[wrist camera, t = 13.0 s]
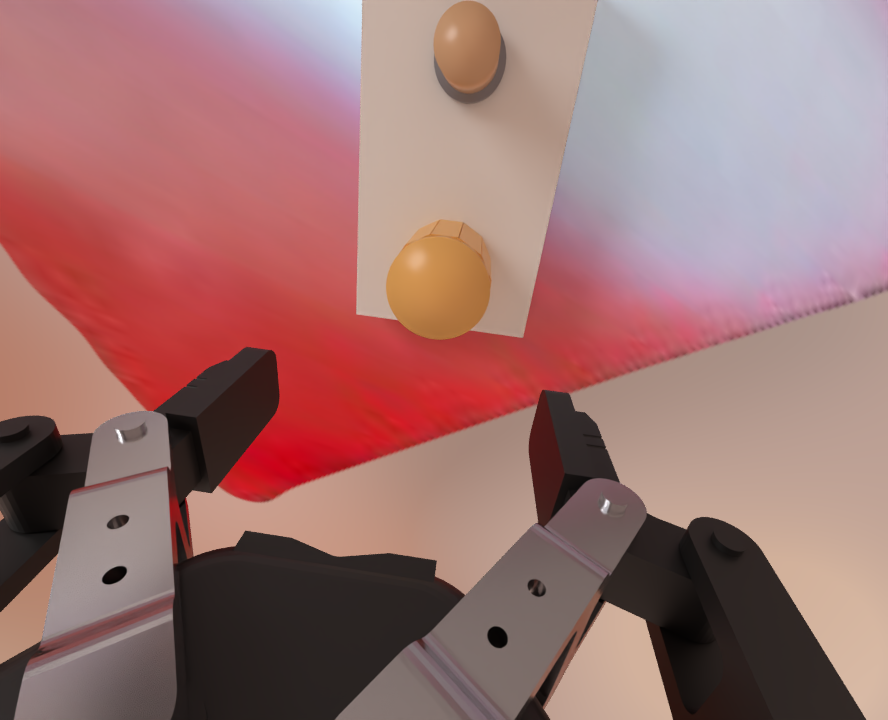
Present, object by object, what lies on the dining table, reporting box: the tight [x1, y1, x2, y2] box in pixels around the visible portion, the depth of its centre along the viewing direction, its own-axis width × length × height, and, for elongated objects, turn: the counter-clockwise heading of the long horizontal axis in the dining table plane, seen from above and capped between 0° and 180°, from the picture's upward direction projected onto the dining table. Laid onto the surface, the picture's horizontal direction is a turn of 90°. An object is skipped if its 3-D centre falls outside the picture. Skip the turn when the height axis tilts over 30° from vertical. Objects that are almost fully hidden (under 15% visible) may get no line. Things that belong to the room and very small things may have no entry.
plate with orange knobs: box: [356, 0, 598, 338], centre depth 24 cm, size 20×12×8 cm, turn 173°
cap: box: [386, 219, 492, 340], centre depth 25 cm, size 6×6×6 cm
